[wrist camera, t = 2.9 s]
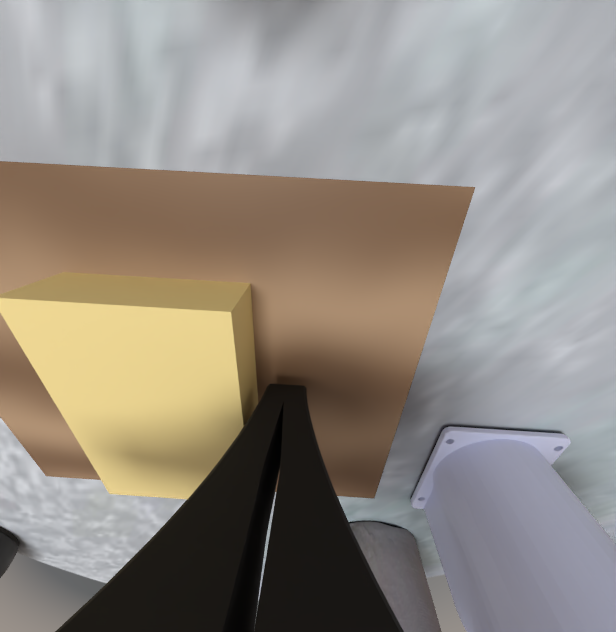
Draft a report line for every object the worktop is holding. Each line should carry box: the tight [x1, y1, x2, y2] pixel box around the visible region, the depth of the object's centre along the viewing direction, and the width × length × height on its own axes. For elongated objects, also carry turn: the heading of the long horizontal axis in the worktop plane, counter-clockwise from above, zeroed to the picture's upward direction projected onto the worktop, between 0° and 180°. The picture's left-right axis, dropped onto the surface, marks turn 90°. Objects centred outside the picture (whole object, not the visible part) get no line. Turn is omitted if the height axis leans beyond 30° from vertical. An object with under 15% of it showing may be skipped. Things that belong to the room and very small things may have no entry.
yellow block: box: [0, 272, 258, 499], centre depth 9 cm, size 9×6×2 cm, turn 177°
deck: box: [0, 161, 475, 498], centre depth 12 cm, size 15×18×4 cm
